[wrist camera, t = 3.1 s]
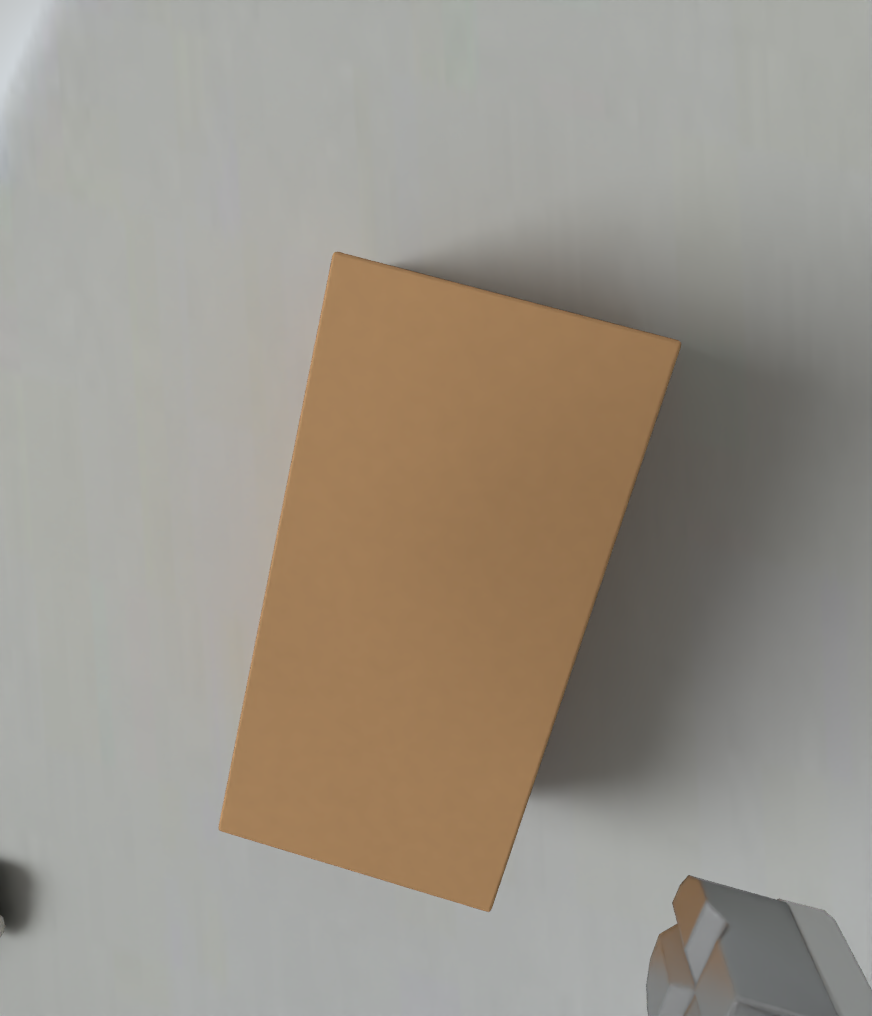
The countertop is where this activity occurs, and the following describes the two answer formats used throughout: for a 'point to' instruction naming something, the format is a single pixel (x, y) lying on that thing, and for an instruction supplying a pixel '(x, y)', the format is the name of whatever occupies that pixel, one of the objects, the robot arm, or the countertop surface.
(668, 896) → the countertop surface
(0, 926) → the stone
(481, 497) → the pad
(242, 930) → the countertop surface
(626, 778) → the countertop surface
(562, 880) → the countertop surface
